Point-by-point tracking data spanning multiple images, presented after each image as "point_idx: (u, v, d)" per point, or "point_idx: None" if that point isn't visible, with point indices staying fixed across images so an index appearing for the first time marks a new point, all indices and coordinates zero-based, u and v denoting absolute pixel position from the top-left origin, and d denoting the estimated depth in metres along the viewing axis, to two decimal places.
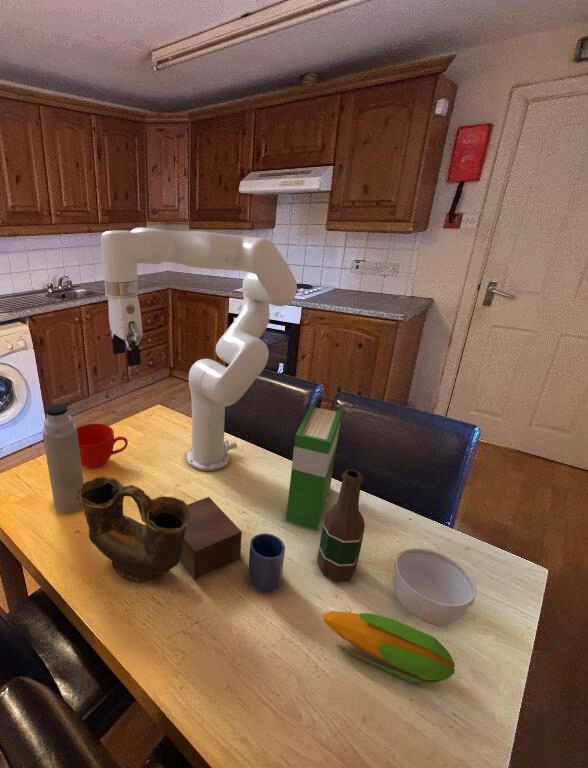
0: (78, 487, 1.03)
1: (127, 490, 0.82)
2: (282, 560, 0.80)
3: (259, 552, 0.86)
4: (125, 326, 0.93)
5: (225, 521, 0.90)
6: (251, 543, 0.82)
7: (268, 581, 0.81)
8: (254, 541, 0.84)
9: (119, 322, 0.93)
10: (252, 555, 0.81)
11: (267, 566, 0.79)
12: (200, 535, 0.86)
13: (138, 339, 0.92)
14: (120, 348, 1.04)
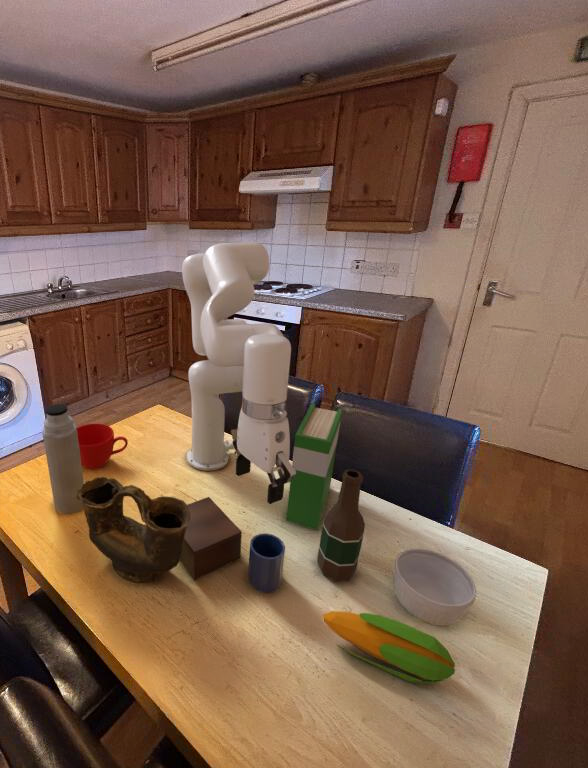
0: (78, 487, 1.03)
1: (127, 490, 0.82)
2: (282, 560, 0.80)
3: (259, 552, 0.86)
4: (272, 458, 0.70)
5: (225, 521, 0.90)
6: (251, 543, 0.82)
7: (268, 581, 0.81)
8: (254, 541, 0.84)
9: (262, 451, 0.71)
10: (252, 555, 0.81)
11: (267, 566, 0.79)
12: (200, 535, 0.86)
13: (291, 477, 0.69)
14: (245, 468, 0.82)
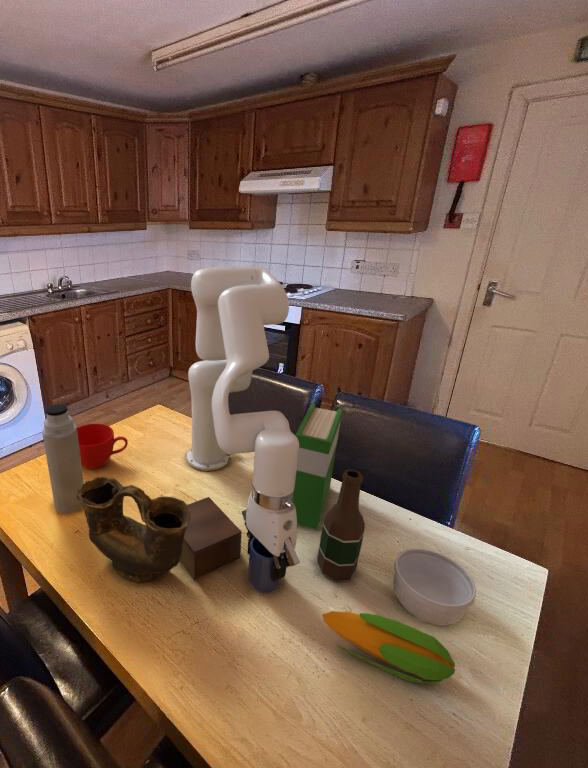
0: (78, 487, 1.03)
1: (127, 490, 0.82)
2: None
3: (259, 552, 0.86)
4: (280, 544, 0.75)
5: (225, 521, 0.90)
6: (251, 543, 0.82)
7: (268, 581, 0.81)
8: (254, 541, 0.84)
9: (271, 537, 0.76)
10: (252, 555, 0.81)
11: (267, 566, 0.79)
12: (200, 535, 0.86)
13: None
14: None
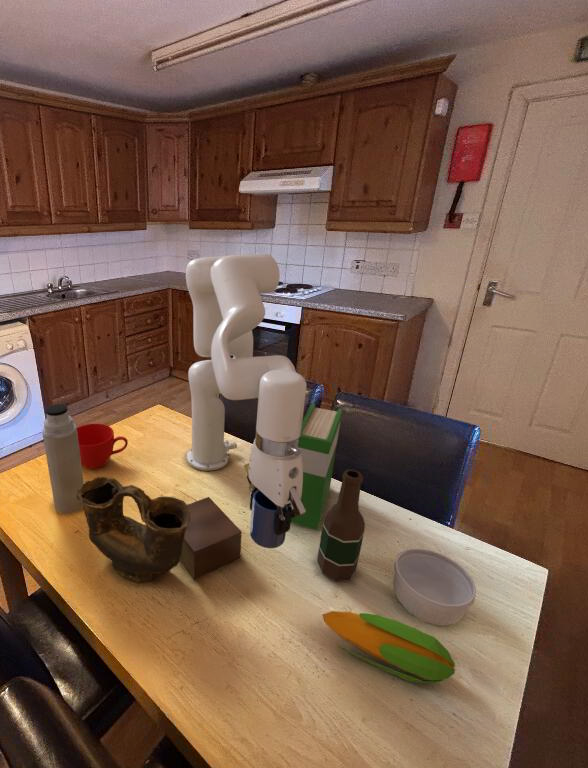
0: (78, 487, 1.03)
1: (127, 490, 0.82)
2: None
3: None
4: (285, 493, 0.71)
5: (225, 521, 0.90)
6: (254, 496, 0.78)
7: (271, 535, 0.77)
8: (257, 495, 0.80)
9: (275, 486, 0.72)
10: (255, 508, 0.77)
11: (271, 519, 0.75)
12: (200, 535, 0.86)
13: None
14: None
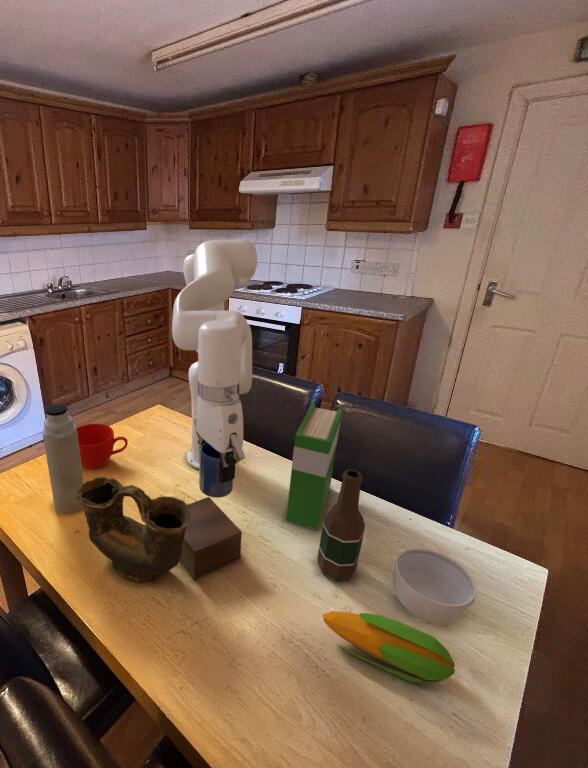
0: (78, 487, 1.03)
1: (127, 490, 0.82)
2: None
3: None
4: (225, 439, 0.74)
5: (225, 521, 0.90)
6: (201, 447, 0.81)
7: (217, 484, 0.80)
8: (204, 447, 0.83)
9: (217, 433, 0.75)
10: (201, 458, 0.80)
11: (215, 467, 0.78)
12: (200, 535, 0.86)
13: (240, 459, 0.74)
14: None
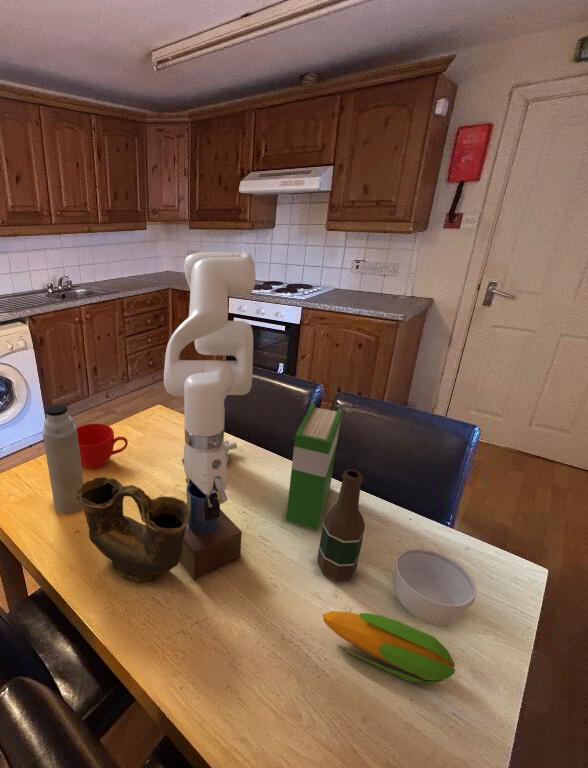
0: (78, 487, 1.03)
1: (127, 490, 0.82)
2: None
3: (198, 498, 0.91)
4: (209, 482, 0.80)
5: (225, 522, 0.90)
6: (188, 487, 0.87)
7: (203, 522, 0.85)
8: (192, 486, 0.88)
9: (202, 476, 0.80)
10: (188, 497, 0.86)
11: (201, 507, 0.84)
12: (200, 535, 0.86)
13: (223, 502, 0.80)
14: None
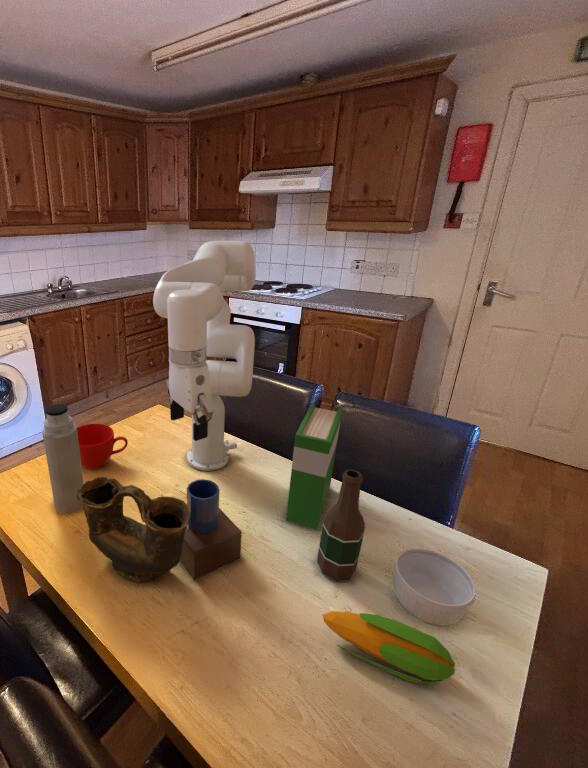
0: (78, 487, 1.03)
1: (127, 490, 0.82)
2: (216, 502, 0.85)
3: (198, 498, 0.91)
4: (194, 399, 0.81)
5: (225, 522, 0.90)
6: (188, 487, 0.87)
7: (203, 522, 0.85)
8: (192, 486, 0.88)
9: (186, 394, 0.82)
10: (188, 497, 0.86)
11: (201, 507, 0.84)
12: (200, 535, 0.86)
13: (210, 415, 0.80)
14: (179, 413, 0.93)
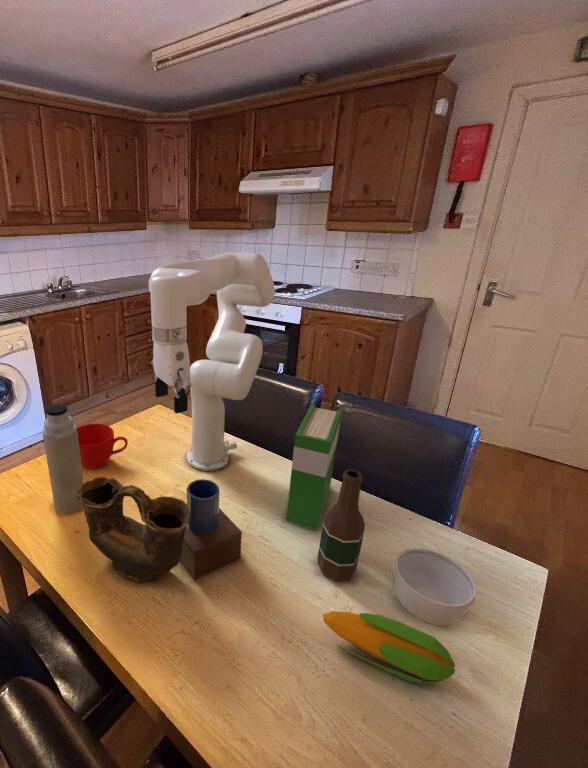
0: (78, 487, 1.03)
1: (127, 490, 0.82)
2: (216, 502, 0.85)
3: (198, 498, 0.91)
4: (174, 373, 0.89)
5: (225, 522, 0.90)
6: (188, 487, 0.87)
7: (203, 522, 0.85)
8: (192, 486, 0.88)
9: (167, 369, 0.90)
10: (188, 497, 0.86)
11: (201, 507, 0.84)
12: (200, 535, 0.86)
13: (188, 387, 0.88)
14: (163, 391, 1.00)
